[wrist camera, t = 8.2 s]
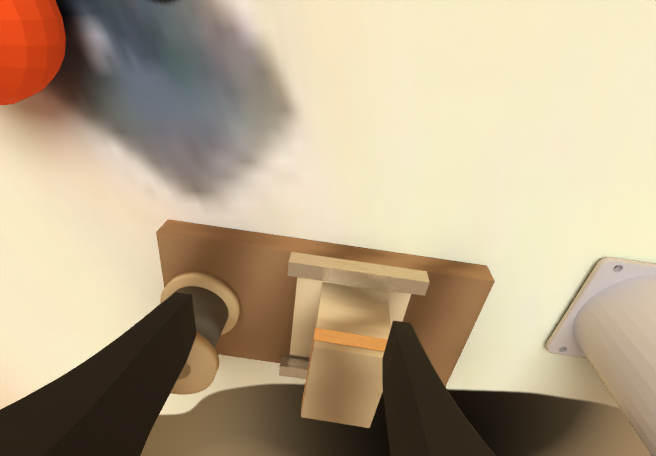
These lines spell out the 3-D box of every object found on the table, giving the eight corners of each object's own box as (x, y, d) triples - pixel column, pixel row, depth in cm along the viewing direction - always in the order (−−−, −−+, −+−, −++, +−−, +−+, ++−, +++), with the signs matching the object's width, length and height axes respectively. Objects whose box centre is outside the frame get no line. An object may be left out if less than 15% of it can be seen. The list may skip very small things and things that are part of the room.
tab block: (388, 291, 22) (395, 359, 18) (368, 357, 25) (370, 428, 21) (321, 280, 22) (312, 346, 18) (310, 348, 25) (299, 417, 21)
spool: (240, 277, 22) (212, 340, 18) (241, 333, 25) (216, 400, 21) (161, 266, 22) (114, 325, 18) (169, 323, 25) (130, 387, 21)
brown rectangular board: (486, 265, 22) (500, 292, 20) (441, 369, 28) (448, 399, 25) (168, 219, 22) (147, 241, 20) (182, 332, 28) (167, 358, 25)
